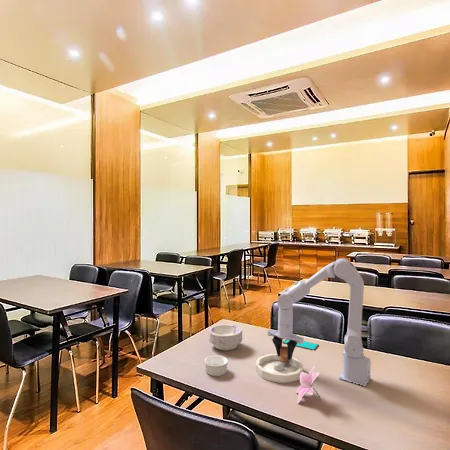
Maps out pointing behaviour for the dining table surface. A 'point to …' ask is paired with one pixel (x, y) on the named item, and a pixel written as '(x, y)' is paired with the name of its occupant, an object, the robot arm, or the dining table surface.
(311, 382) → the lily
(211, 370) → the ramekin
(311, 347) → the smartphone
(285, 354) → the pepper mill
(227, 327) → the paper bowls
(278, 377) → the ring tray
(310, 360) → the dining table surface
